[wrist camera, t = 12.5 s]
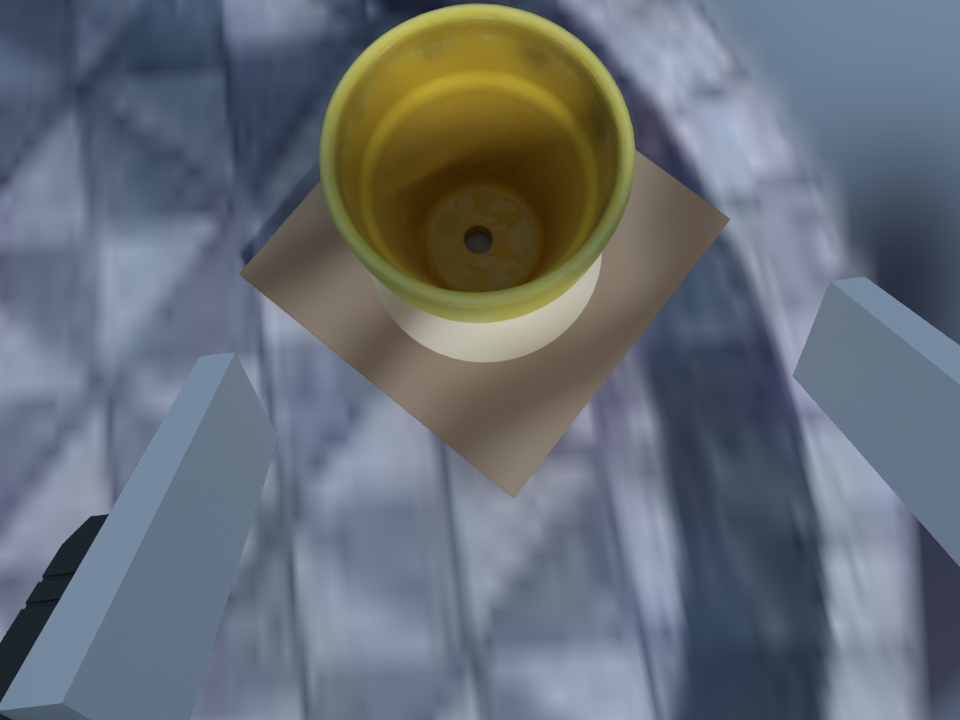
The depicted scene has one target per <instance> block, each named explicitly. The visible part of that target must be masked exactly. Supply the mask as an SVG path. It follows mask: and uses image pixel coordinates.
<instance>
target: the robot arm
mask: <svg viewBox="0 0 960 720" xmlns="http://www.w3.org/2000/svg"><path fill="white" fill-rule="evenodd" d="M793 377H794V378H795V379H796V380H797V381H798V382H799V384H800V385H801V386H802V387H803V388H804V389H805V390H806V392H807V393H808V394H809V395H810V396H811V397H812V398H813V400H814V401H815V402H816V403H817V404H818V405H819V406H820V408H821V409H822V410H823V411H824V412H825V413H826V414H827V416H828V417H829V418H830V419H831V420H832V421H833V422H834V424H835V425H836V426H837V427H838V428H839V429H840V430H841V432H842V433H843V434H844V435H845V436H846V437H847V438H848V440H849V441H850V442H851V443H852V444H853V445H854V446H855V448H856V449H857V450H858V451H859V452H860V453H861V454H862V456H863V457H864V458H865V459H866V460H867V461H868V462H869V464H870V465H871V466H872V467H873V468H874V469H875V470H876V472H877V473H878V474H879V475H880V476H881V477H882V478H883V480H884V481H885V482H886V483H887V484H888V485H889V486H890V488H891V489H892V490H893V491H894V492H895V493H896V494H897V496H898V497H899V498H900V499H901V500H902V501H903V502H904V504H905V505H906V506H907V507H908V508H909V509H910V510H911V512H912V513H913V514H914V515H915V516H916V517H917V518H918V520H919V521H920V522H921V523H922V524H923V525H924V526H925V527H926V529H927V530H928V531H929V532H930V533H931V534H932V536H933V537H934V538H935V539H936V540H937V541H938V542H939V544H940V545H941V546H942V547H943V548H944V549H945V550H946V551H947V553H948V554H949V555H950V556H951V557H952V558H953V560H954V561H955V562H956V563H957V564H958V565H959V566H960V346H959V345H958V344H956V343H955V342H954V341H952V340H951V339H950V338H948V337H947V336H945V335H944V334H943V333H941V332H940V331H939V330H937V329H936V328H934V327H933V326H932V325H930V324H929V323H927V322H926V321H925V320H923V319H922V318H921V317H919V316H918V315H916V314H915V313H914V312H912V311H911V310H910V309H908V308H907V307H906V306H904V305H903V304H901V303H900V302H899V301H897V300H896V299H894V298H893V297H892V296H890V295H889V294H888V293H886V292H885V291H884V290H882V289H881V288H879V287H878V286H877V285H875V284H874V283H873V282H871V281H870V280H868V279H867V278H866V277H860V278H851V279H843V280H835V281H830V283H829V286H828V288H827V291H826V293H825V296H824V298H823V301H822V303H821V306H820V308H819V311H818V313H817V316H816V318H815V321H814V323H813V326H812V328H811V331H810V334H809V336H808V339H807V341H806V344H805V346H804V349H803V351H802V354H801V356H800V359H799V361H798V364H797V366H796V369H795V371H794V374H793ZM277 440H278V436H277V434H276V432H275V430H274V428H273V426H272V424H271V422H270V420H269V418H268V416H267V414H266V412H265V410H264V408H263V406H262V404H261V402H260V401H259V399H258V397H257V395H256V393H255V391H254V389H253V387H252V385H251V383H250V381H249V379H248V377H247V375H246V373H245V371H244V369H243V367H242V365H241V363H240V361H239V359H238V357H237V355H236V353H235V352H233V353H225V354H216V355H208V356H200V358H199V360H198V361H197V363H196V365H195V366H194V368H193V370H192V372H191V373H190V375H189V377H188V379H187V380H186V382H185V384H184V385H183V387H182V389H181V391H180V392H179V394H178V396H177V398H176V399H175V401H174V403H173V405H172V406H171V408H170V410H169V411H168V413H167V415H166V417H165V418H164V420H163V422H162V424H161V425H160V427H159V429H158V431H157V432H156V434H155V436H154V437H153V439H152V441H151V443H150V444H149V446H148V448H147V450H146V451H145V453H144V455H143V457H142V458H141V460H140V462H139V463H138V465H137V467H136V469H135V470H134V472H133V474H132V476H131V477H130V479H129V481H128V482H127V484H126V486H125V488H124V489H123V491H122V493H121V495H120V496H119V498H118V500H117V502H116V503H115V505H114V507H113V508H112V510H111V512H110V514H107V515H99V516H91V517H90V518H89V519H88V520H87V521H85V522H84V523H83V524H82V525H81V526H80V527H79V528H78V529H77V530H76V531H75V532H74V533H73V534H72V535H71V536H70V537H69V538H68V539H67V540H66V541H65V542H64V543H63V544H62V545H61V547H60V549H59V550H58V552H57V553H56V555H55V557H54V558H53V560H52V561H51V563H50V565H49V566H48V568H47V569H46V571H45V573H44V574H43V576H42V577H43V581H42V582H38V584H37V585H36V587H35V588H34V590H33V592H32V593H31V595H30V596H29V598H28V600H27V601H26V608H25V609H21V611H20V612H19V614H18V616H17V617H16V619H15V620H14V622H13V624H12V625H11V627H10V628H9V630H8V631H7V633H6V635H5V636H4V638H3V639H2V641H1V643H0V720H189V719H190V716H191V713H192V710H193V707H194V704H195V700H196V697H197V694H198V691H199V688H200V685H201V681H202V678H203V675H204V672H205V669H206V666H207V662H208V659H209V656H210V653H211V650H212V646H213V643H214V640H215V637H216V634H217V631H218V627H219V624H220V621H221V618H222V615H223V612H224V608H225V605H226V602H227V599H228V596H229V593H230V589H231V586H232V583H233V580H234V577H235V574H236V570H237V567H238V564H239V561H240V558H241V555H242V551H243V548H244V545H245V542H246V539H247V536H248V532H249V529H250V526H251V523H252V520H253V517H254V513H255V510H256V507H257V504H258V501H259V498H260V494H261V491H262V488H263V485H264V482H265V478H266V475H267V472H268V469H269V466H270V463H271V459H272V456H273V453H274V450H275V447H276V444H277Z"/></svg>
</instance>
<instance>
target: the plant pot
mask: <svg viewBox="0 0 960 720" xmlns="http://www.w3.org/2000/svg"><path fill="white" fill-rule="evenodd" d="M634 169H635V143H634V134H633V128H632V123H631V120H630V116H629V112H628V109H627V107H626V104H625V101H624V99H623V96H622V94H621V92H620V90H619V88H618V86H617V85H616V83H615V81H614V79H613V78H612V76H611V75H610V73H609V72H608V70H607V69H606V67H605V66H604V65H603V64H602V63H601V61H600V60H599V59H598V58H597V57H596V56H595V54H594V53H593V52H592V51H591V50H590V49H589V48H588V47H587V46H586V45H585V44H584V43H582V42H581V41H580V40H579V39H578V38H576V37H575V36H574V35H572V34H571V33H569V32H568V31H566V30H565V29H563V28H562V27H560V26H558V25H557V24H555V23H553V22H551V21H549V20H547V19H545V18H543V17H541V16H538V15H535V14H533V13H530V12H527V11H523V10H520V9H516V8H512V7H507V6H501V5H495V4H461V5H454V6H448V7H444V8H440V9H436V10H432V11H429V12H426V13H423V14H420V15H418V16H416V17H414V18H412V19H409V20H407V21H405V22H403V23H401V24H399V25H397V26H395V27H394V28H392V29H391V30H389V31H387V32H386V33H384V34H383V35H382V36H380V37H379V38H378V39H377V40H375V41H374V42H373V43H372V44H370V45H369V46H368V47H367V48H366V49H365V50H364V51H363V52H362V53H361V54H360V55H359V56H358V57H357V59H356V60H355V61H354V62H353V63H352V65H351V66H350V67H349V68H348V70H347V71H346V73H345V74H344V75H343V77H342V78H341V80H340V82H339V83H338V85H337V87H336V88H335V91H334V93H333V95H332V97H331V99H330V102H329V104H328V107H327V110H326V113H325V116H324V120H323V124H322V130H321V136H320V144H319V170H320V179H321V185H322V190H323V194H324V198H325V201H326V204H327V207H328V210H329V213H330V215H331V217H332V220H333V222H334V224H335V226H336V227H337V229H338V231H339V233H340V234H341V236H342V238H343V240H344V241H345V242H346V244H347V245H348V247H349V248H350V249H351V251H352V252H353V253H354V254H355V256H356V257H357V258H358V259H359V260H360V262H361V263H362V264H363V265H364V266H365V268H366V269H367V270H368V271H369V272H370V273H371V274H372V275H373V276H374V277H375V278H376V279H377V280H378V281H379V282H380V283H381V284H382V285H384V286H385V287H386V288H387V289H389V290H390V291H391V292H392V293H394V294H395V295H396V296H397V297H399V298H400V299H402V300H403V301H405V302H406V303H408V304H410V305H411V306H413V307H415V308H417V309H419V310H421V311H423V312H425V313H428V314H431V315H433V316H436V317H440V318H443V319H447V320H452V321H457V322H464V323H492V322H500V321H505V320H510V319H514V318H518V317H521V316H524V315H527V314H530V313H532V312H534V311H536V310H538V309H541V308H543V307H544V306H546V305H548V304H549V303H551V302H553V301H554V300H556V299H557V298H559V297H560V296H562V295H563V294H564V293H566V292H567V291H568V290H569V289H570V288H571V287H572V286H573V285H574V284H576V283H577V282H578V281H579V280H580V278H581V277H582V276H583V275H584V274H585V273H586V272H587V271H588V270H589V268H590V267H591V266H592V265H593V263H594V262H595V261H596V260H597V258H598V257H599V256H600V254H601V253H602V251H603V250H604V248H605V247H606V245H607V244H608V242H609V240H610V239H611V237H612V235H613V234H614V232H615V231H616V229H617V227H618V225H619V223H620V220H621V218H622V216H623V214H624V211H625V209H626V206H627V203H628V200H629V197H630V193H631V189H632V184H633V179H634ZM474 231H483V232H485V233H486V234H488V235H489V237H490V239H491V246H490V247H489V248H488V250H487V251H485V252H483V253H475V252H472V251H471V250H469V248H468V247H467V243H466V240H467V237H468V236H469V234H470V233H472V232H474Z"/></svg>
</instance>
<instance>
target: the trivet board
mask: <svg viewBox="0 0 960 720" xmlns="http://www.w3.org/2000/svg"><path fill="white" fill-rule="evenodd" d="M729 220H730V219H729V218H728V217H727V216H725V215H724V214H723V213H721V212H720V211H719V210H717V209H716V208H714V207H713V206H712V205H710V204H709V203H708V202H706V201H705V200H703V199H702V198H701V197H699V196H698V195H697V194H695V193H694V192H693V191H691V190H690V189H688V188H687V187H686V186H684V185H683V184H682V183H680V182H679V181H677V180H676V179H675V178H673V177H672V176H671V175H669V174H668V173H667V172H665V171H664V170H662V169H661V168H660V167H658V166H657V165H656V164H654V163H653V162H652V161H650V160H649V159H647V158H646V157H645V156H643V155H642V154H641V153H639V152H638V151H636V150H635V169H634V179H633V184H632V189H631V193H630V197H629V200H628V203H627V206H626V209H625V211H624V214H623V216H622V218H621V220H620V223H619V225H618V227H617V229H616V231H615V232H614V234H613V235H612V237H611V239H610V240H609V242H608V244H607V245H606V247H605V248H604V250H603V251H602V253H601V254H600V256H599V257H598V258H597V260H596V261H595V262H594V263H593V265H592V266H591V267H590V268H589V270H588V271H587V272H586V273H585V274H584V275H583V276H582V277H581V278H580V280H579V281H578V282H577V283H576V284H574V285H573V286H572V287H571V288H570V289H569V290H568V291H567V292H566V293H564V294H563V295H562V296H560V297H559V298H557V299H556V300H554V301H553V302H551V303H549V304H548V305H546V306H544V307H543V308H541V309H538V310H536V311H534V312H532V313H530V314H527V315H524V316H521V317H518V318H514V319H510V320H505V321H500V322H492V323H464V322H457V321H452V320H447V319H443V318H440V317H436V316H433V315H431V314H428V313H425V312H423V311H421V310H419V309H417V308H415V307H413V306H411V305H410V304H408V303H406V302H405V301H403V300H402V299H400V298H399V297H397V296H396V295H395V294H394V293H392V292H391V291H390V290H389V289H387V288H386V287H385V286H384V285H382V284H381V283H380V282H379V281H378V280H377V279H376V278H375V277H374V276H373V275H372V274H371V273H370V272H369V271H368V270H367V269H366V268H365V266H364V265H363V264H362V263H361V262H360V260H359V259H358V258H357V257H356V256H355V254H354V253H353V252H352V251H351V249H350V248H349V247H348V245H347V244H346V242H345V241H344V240H343V238H342V236H341V234H340V233H339V231H338V229H337V227H336V226H335V224H334V222H333V220H332V217H331V215H330V213H329V210H328V207H327V204H326V201H325V198H324V194H323V190H322V185H321V180H320V181H319V182H318V183H317V184H316V186H315V187H314V188H313V189H312V190H311V191H310V193H309V194H308V195H307V196H306V197H305V198H304V199H303V201H302V202H301V203H300V204H299V205H298V206H297V208H296V209H295V210H294V211H293V212H292V213H291V214H290V216H289V217H288V218H287V219H286V220H285V221H284V223H283V224H282V225H281V226H280V227H279V228H278V229H277V231H276V232H275V233H274V234H273V235H272V236H271V238H270V239H269V240H268V241H267V242H266V243H265V244H264V246H263V247H262V248H261V249H260V250H259V251H258V253H257V254H256V255H255V256H254V257H253V258H252V259H251V261H250V262H249V263H248V264H247V265H246V266H245V268H244V269H243V270H242V271H241V272H240V273H239V274H240V275H241V276H242V277H243V278H245V279H246V280H247V281H248V282H249V283H251V284H252V285H253V286H254V287H256V288H257V289H258V290H259V291H260V292H262V293H263V294H264V295H265V296H267V297H268V298H269V299H270V300H271V301H273V302H274V303H275V304H276V305H278V306H279V307H280V308H281V309H282V310H284V311H285V312H286V313H287V314H289V315H290V316H291V317H292V318H294V319H295V320H296V321H297V322H298V323H300V324H301V325H302V326H303V327H305V328H306V329H307V330H308V331H309V332H311V333H312V334H313V335H314V336H316V337H317V338H318V339H319V340H320V341H322V342H323V343H324V344H325V345H327V346H328V347H329V348H330V349H331V350H333V351H334V352H335V353H336V354H338V355H339V356H340V357H341V358H342V359H344V360H345V361H346V362H347V363H349V364H350V365H351V366H352V367H353V368H355V369H356V370H357V371H358V372H360V373H361V374H362V375H363V376H364V377H366V378H367V379H368V380H369V381H371V382H372V383H373V384H374V385H375V386H377V387H378V388H379V389H380V390H382V391H383V392H384V393H385V394H387V395H388V396H389V397H390V398H391V399H393V400H394V401H395V402H396V403H398V404H399V405H400V406H401V407H402V408H404V409H405V410H406V411H407V412H409V413H410V414H411V415H412V416H413V417H415V418H416V419H417V420H418V421H420V422H421V423H422V424H423V425H424V426H426V427H427V428H428V429H429V430H431V431H432V432H433V433H434V434H435V435H437V436H438V437H439V438H440V439H442V440H443V441H444V442H445V443H446V444H448V445H449V446H450V447H451V448H453V449H454V450H455V451H456V452H457V453H459V454H460V455H461V456H462V457H464V458H465V459H466V460H467V461H469V462H470V463H471V464H472V465H473V466H475V467H476V468H477V469H478V470H480V471H481V472H482V473H483V474H484V475H486V476H487V477H488V478H489V479H491V480H492V481H493V482H494V483H495V484H497V485H498V486H499V487H500V488H502V489H503V490H504V491H505V492H506V493H508V494H509V495H510V496H511V497H513V498H514V497H515V496H516V494H517V493H518V492H519V491H520V489H521V488H522V487H523V485H524V484H525V483H526V482H527V480H528V479H529V478H530V476H531V475H532V474H533V473H534V471H535V470H536V469H537V467H538V466H539V465H540V464H541V462H542V461H543V460H544V458H545V457H546V456H547V455H548V453H549V452H550V451H551V449H552V448H553V447H554V446H555V444H556V443H557V442H558V440H559V439H560V438H561V437H562V435H563V434H564V433H565V431H566V430H567V429H568V428H569V426H570V425H571V424H572V422H573V421H574V420H575V419H576V417H577V416H578V415H579V413H580V412H581V411H582V410H583V408H584V407H585V406H586V404H587V403H588V402H589V401H590V399H591V398H592V397H593V395H594V394H595V393H596V392H597V390H598V389H599V388H600V386H601V385H602V384H603V383H604V381H605V380H606V379H607V377H608V376H609V375H610V374H611V372H612V371H613V370H614V368H615V367H616V366H617V365H618V363H619V362H620V361H621V359H622V358H623V357H624V356H625V354H626V353H627V352H628V350H629V349H630V348H631V346H632V345H633V344H634V343H635V341H636V340H637V339H638V337H639V336H640V335H641V334H642V332H643V331H644V330H645V328H646V327H647V326H648V325H649V323H650V322H651V321H652V319H653V318H654V317H655V316H656V314H657V313H658V312H659V310H660V309H661V308H662V307H663V305H664V304H665V303H666V301H667V300H668V299H669V298H670V296H671V295H672V294H673V292H674V291H675V290H676V289H677V287H678V286H679V285H680V283H681V282H682V281H683V280H684V278H685V277H686V276H687V274H688V273H689V272H690V271H691V269H692V268H693V267H694V265H695V264H696V263H697V262H698V260H699V259H700V258H701V256H702V255H703V254H704V253H705V251H706V250H707V249H708V247H709V246H710V245H711V244H712V242H713V241H714V240H715V238H716V237H717V236H718V235H719V233H720V232H721V231H722V229H723V228H724V227H725V226H726V224H727V223H728V222H729ZM466 243H467V247H468V248H469V250H471V251H472V252H475V253H483V252H485V251H487V250H488V248H489V247H490V246H491V239H490V237H489V235H488V234H486V233H485V232H483V231H474V232H472V233H470V234H469V236H468V237H467V240H466Z"/></svg>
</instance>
